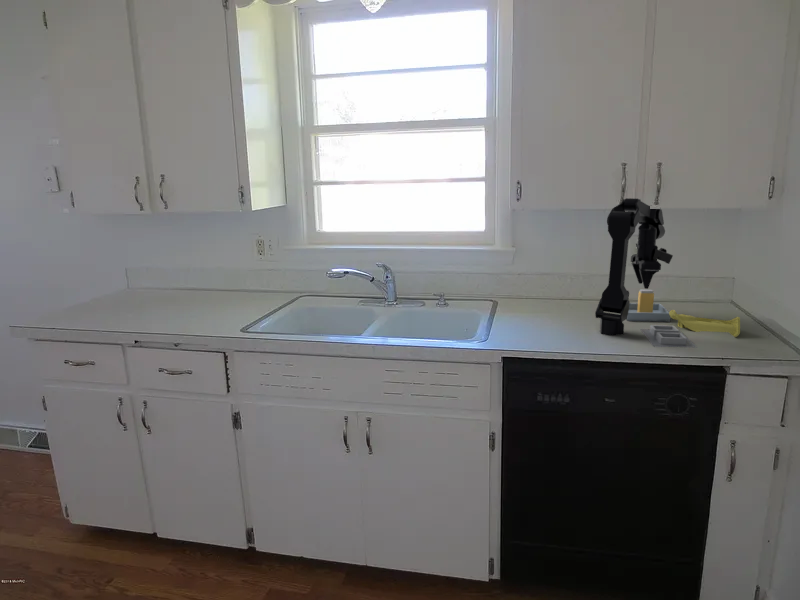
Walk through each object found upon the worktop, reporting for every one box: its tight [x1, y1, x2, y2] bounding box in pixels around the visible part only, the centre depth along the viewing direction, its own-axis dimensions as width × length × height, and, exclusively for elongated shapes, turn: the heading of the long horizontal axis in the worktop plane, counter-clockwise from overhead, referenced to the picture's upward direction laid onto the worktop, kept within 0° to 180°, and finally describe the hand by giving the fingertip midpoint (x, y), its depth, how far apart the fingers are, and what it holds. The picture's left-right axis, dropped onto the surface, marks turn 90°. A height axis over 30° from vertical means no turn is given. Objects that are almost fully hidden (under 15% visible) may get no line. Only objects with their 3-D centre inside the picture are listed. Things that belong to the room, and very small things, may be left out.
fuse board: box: [639, 324, 698, 349], centre depth 174 cm, size 12×18×4 cm, turn 169°
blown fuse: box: [637, 288, 655, 313], centre depth 202 cm, size 3×4×9 cm, turn 80°
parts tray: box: [625, 302, 671, 323], centre depth 203 cm, size 14×14×3 cm
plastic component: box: [669, 309, 741, 338], centre depth 184 cm, size 20×7×10 cm
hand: (643, 286), depth 200 cm, fingers open, 9 cm apart
